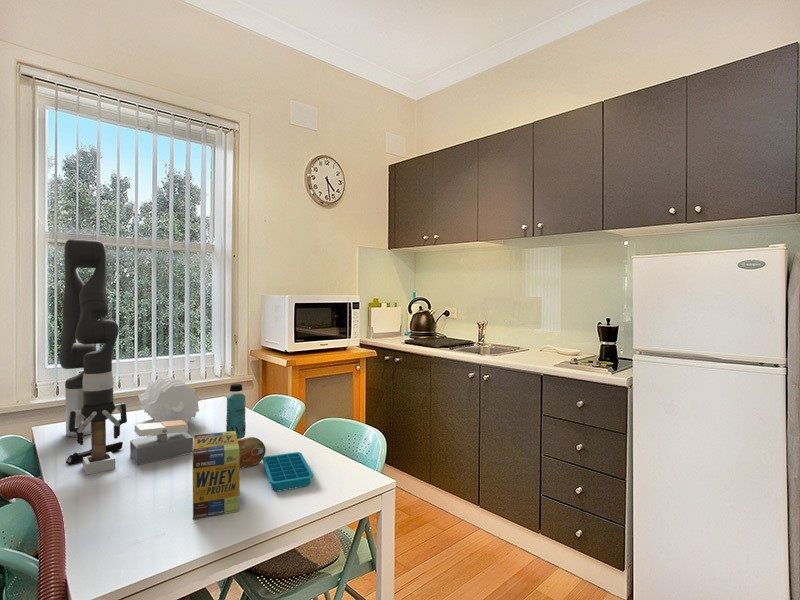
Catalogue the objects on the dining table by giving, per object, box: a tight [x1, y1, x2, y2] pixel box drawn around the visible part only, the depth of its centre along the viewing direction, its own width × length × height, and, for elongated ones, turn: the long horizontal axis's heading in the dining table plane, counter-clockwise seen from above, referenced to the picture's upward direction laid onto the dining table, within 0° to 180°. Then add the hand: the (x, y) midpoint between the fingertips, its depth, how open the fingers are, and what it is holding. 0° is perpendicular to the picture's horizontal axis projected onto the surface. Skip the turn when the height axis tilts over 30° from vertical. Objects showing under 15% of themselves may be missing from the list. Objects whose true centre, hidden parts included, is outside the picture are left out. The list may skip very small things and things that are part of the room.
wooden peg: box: [90, 420, 107, 462], centre depth 134 cm, size 4×4×14 cm
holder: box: [82, 452, 116, 476], centre depth 134 cm, size 7×7×3 cm
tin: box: [237, 436, 266, 469], centre depth 135 cm, size 15×3×8 cm, turn 117°
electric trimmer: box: [65, 441, 124, 466], centre depth 143 cm, size 4×16×3 cm, turn 146°
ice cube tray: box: [262, 451, 315, 492], centre depth 129 cm, size 12×20×3 cm, turn 23°
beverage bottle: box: [225, 383, 247, 439], centre depth 157 cm, size 6×7×20 cm
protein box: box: [192, 431, 240, 520], centre depth 113 cm, size 10×15×16 cm
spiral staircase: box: [137, 376, 201, 425], centre depth 178 cm, size 18×18×25 cm
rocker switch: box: [134, 420, 189, 437], centre depth 145 cm, size 8×14×2 cm, turn 131°
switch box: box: [129, 431, 194, 466], centre depth 145 cm, size 10×16×7 cm, turn 131°
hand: (98, 441), depth 133 cm, fingers open, 8 cm apart
